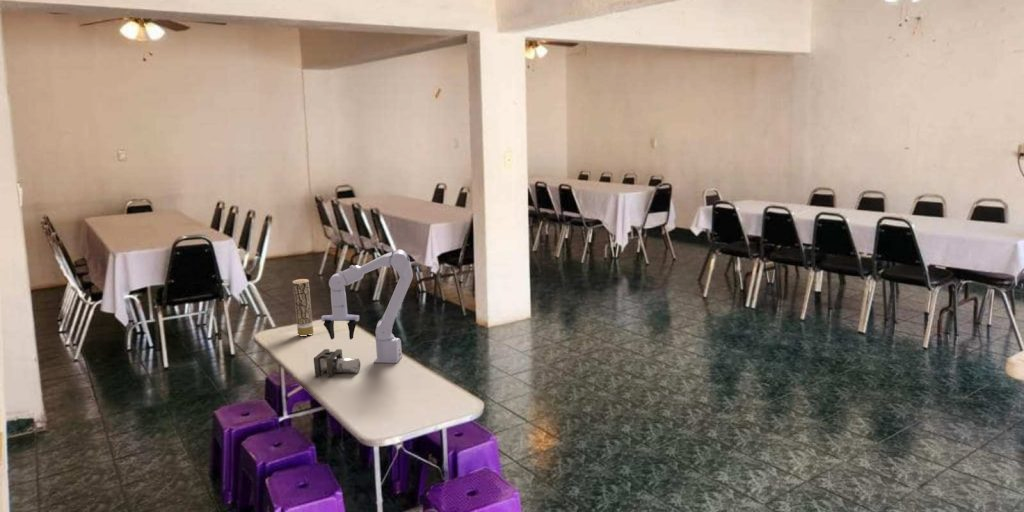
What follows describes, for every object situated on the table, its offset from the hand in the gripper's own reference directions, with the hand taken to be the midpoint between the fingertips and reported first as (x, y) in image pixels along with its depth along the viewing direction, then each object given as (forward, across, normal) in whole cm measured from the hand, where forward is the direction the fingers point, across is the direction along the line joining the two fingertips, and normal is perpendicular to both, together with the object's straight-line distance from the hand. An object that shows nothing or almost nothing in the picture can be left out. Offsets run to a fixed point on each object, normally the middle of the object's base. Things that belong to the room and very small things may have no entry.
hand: (342, 338), depth 278 cm
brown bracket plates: (+10, +2, +11) cm, 15 cm away
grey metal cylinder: (+10, -2, +11) cm, 15 cm away
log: (+10, +31, -37) cm, 50 cm away
